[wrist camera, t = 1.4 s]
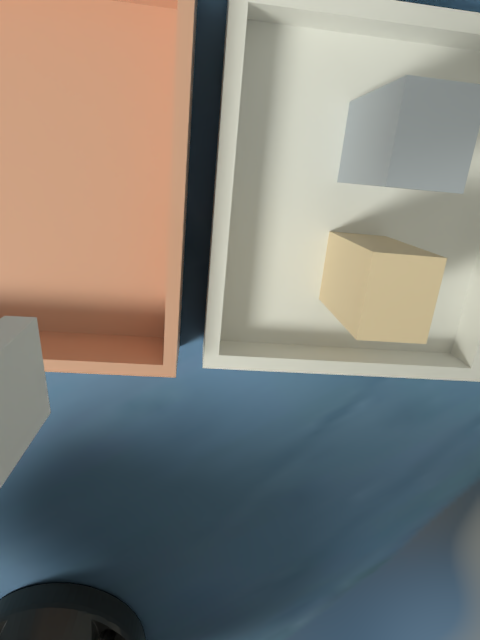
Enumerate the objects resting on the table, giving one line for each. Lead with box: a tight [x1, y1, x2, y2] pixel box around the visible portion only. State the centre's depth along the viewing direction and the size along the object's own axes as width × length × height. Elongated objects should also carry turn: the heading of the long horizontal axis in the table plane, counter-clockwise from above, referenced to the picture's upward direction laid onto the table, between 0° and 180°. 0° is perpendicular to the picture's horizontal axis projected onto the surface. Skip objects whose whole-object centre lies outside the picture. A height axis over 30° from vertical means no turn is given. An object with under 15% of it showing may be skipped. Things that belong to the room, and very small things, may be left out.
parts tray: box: [203, 0, 480, 382], centre depth 28 cm, size 22×20×3 cm
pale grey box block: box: [337, 75, 480, 194], centre depth 24 cm, size 5×4×8 cm
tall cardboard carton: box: [319, 231, 447, 344], centre depth 27 cm, size 5×4×8 cm
